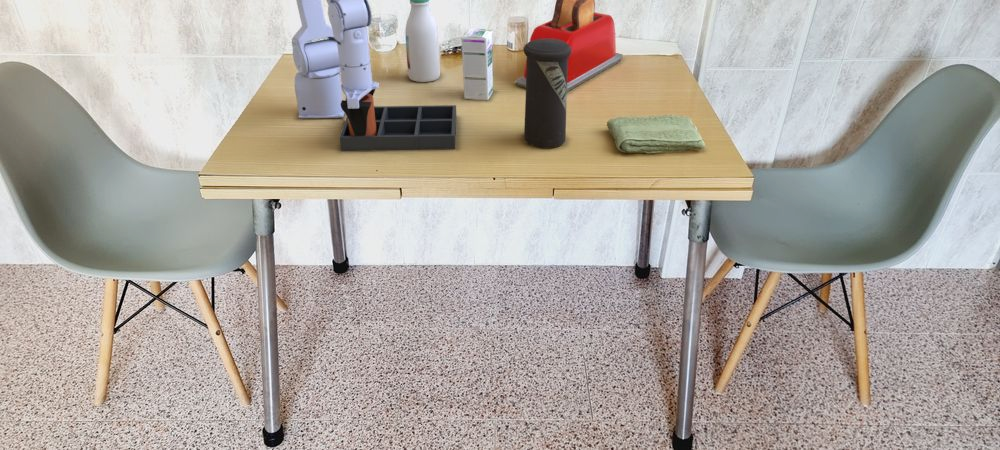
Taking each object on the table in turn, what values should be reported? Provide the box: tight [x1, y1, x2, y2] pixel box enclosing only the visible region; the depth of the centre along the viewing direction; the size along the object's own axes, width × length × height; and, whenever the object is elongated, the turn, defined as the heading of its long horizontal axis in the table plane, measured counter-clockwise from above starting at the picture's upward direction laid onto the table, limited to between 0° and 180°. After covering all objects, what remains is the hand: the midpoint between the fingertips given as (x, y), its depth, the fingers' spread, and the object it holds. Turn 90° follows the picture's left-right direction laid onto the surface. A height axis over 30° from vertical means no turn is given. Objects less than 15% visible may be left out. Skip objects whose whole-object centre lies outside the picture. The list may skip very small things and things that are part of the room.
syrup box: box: [461, 28, 494, 101], centre depth 162 cm, size 6×6×14 cm
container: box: [522, 39, 572, 149], centre depth 141 cm, size 9×9×20 cm
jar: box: [345, 93, 377, 136], centre depth 143 cm, size 5×5×9 cm
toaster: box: [515, 0, 624, 93], centre depth 173 cm, size 32×13×19 cm, turn 144°
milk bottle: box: [404, 0, 441, 83], centre depth 170 cm, size 8×8×20 cm
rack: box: [338, 104, 457, 152], centre depth 148 cm, size 22×15×3 cm
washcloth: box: [606, 114, 706, 155], centre depth 145 cm, size 13×18×3 cm
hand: (362, 128), depth 144 cm, fingers closed on jar, 5 cm apart
